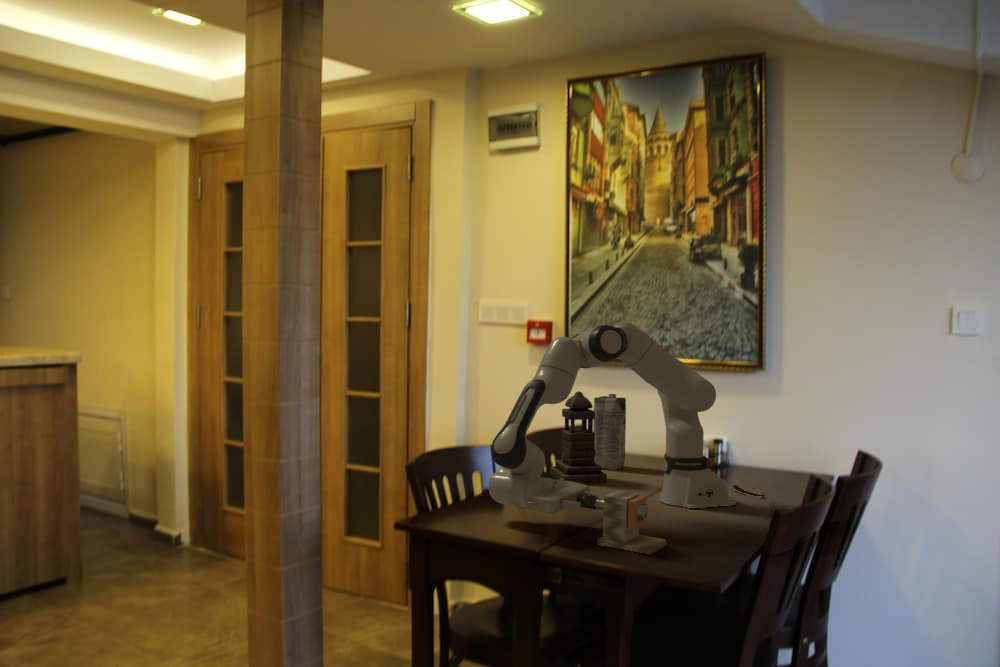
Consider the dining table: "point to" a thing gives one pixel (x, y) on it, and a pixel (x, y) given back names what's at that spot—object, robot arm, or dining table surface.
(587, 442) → the miniature tower
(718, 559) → the dining table surface
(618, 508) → the bearing frame
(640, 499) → the orange upright panel
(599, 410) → the battery
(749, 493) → the curved wedge
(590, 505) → the shaft
